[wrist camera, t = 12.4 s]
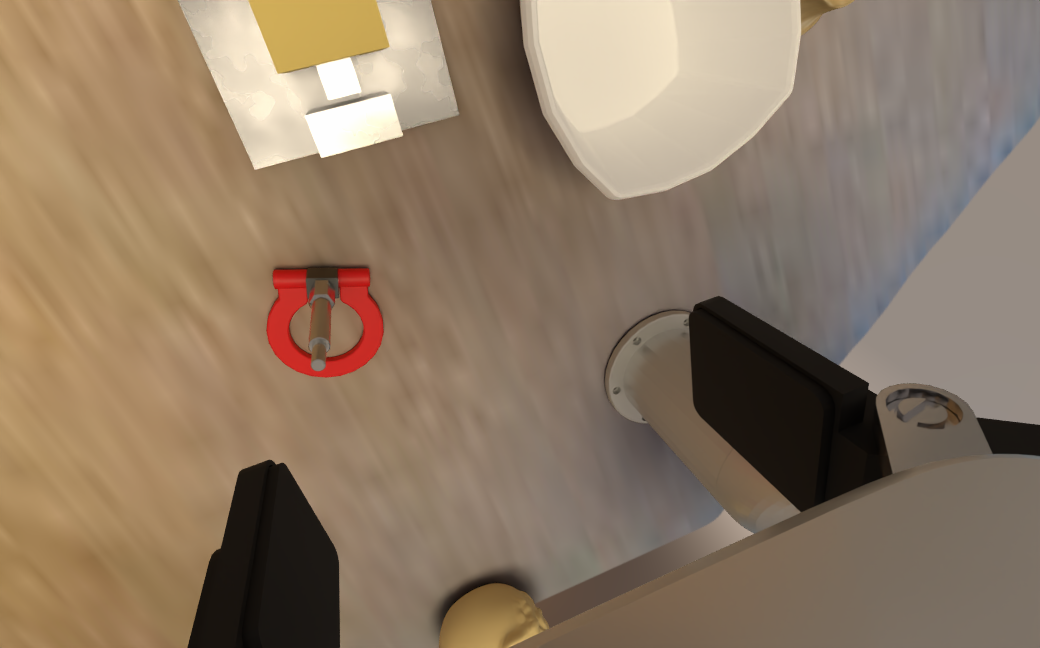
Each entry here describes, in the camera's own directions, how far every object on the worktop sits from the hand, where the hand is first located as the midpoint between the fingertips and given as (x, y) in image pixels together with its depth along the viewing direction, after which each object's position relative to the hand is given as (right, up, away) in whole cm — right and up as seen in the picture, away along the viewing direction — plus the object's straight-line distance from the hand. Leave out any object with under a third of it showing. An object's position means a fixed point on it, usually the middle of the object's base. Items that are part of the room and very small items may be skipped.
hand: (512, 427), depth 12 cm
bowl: (+6, +23, +27) cm, 36 cm away
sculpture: (-4, -30, +49) cm, 58 cm away
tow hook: (-15, +3, +29) cm, 33 cm away
